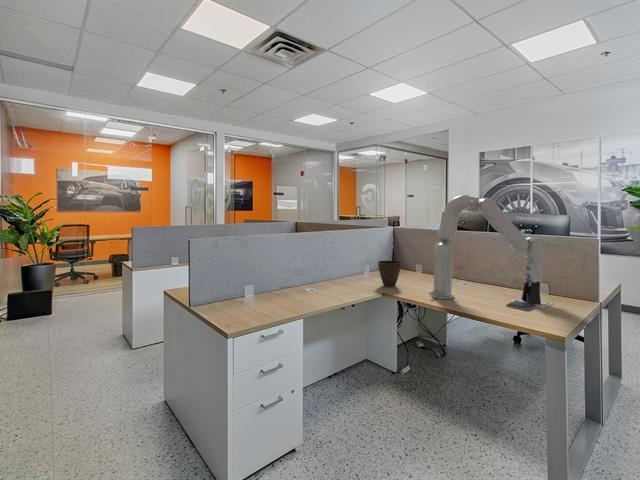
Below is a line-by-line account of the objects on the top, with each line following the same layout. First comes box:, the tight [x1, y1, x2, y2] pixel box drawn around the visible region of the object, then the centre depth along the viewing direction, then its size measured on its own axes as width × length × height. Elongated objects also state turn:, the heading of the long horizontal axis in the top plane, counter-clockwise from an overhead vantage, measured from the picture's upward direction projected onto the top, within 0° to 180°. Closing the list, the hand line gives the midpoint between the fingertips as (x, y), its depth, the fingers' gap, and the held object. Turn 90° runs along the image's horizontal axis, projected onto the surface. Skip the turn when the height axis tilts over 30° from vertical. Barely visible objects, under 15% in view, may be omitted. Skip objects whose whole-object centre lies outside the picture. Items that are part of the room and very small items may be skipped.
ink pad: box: [506, 301, 538, 312], centre depth 170 cm, size 10×10×2 cm
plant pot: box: [377, 260, 402, 288], centre depth 220 cm, size 15×15×16 cm
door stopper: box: [520, 282, 542, 305], centre depth 177 cm, size 9×6×12 cm, turn 169°
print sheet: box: [510, 297, 553, 309], centre depth 178 cm, size 13×15×1 cm
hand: (531, 292), depth 177 cm, fingers open, 9 cm apart
